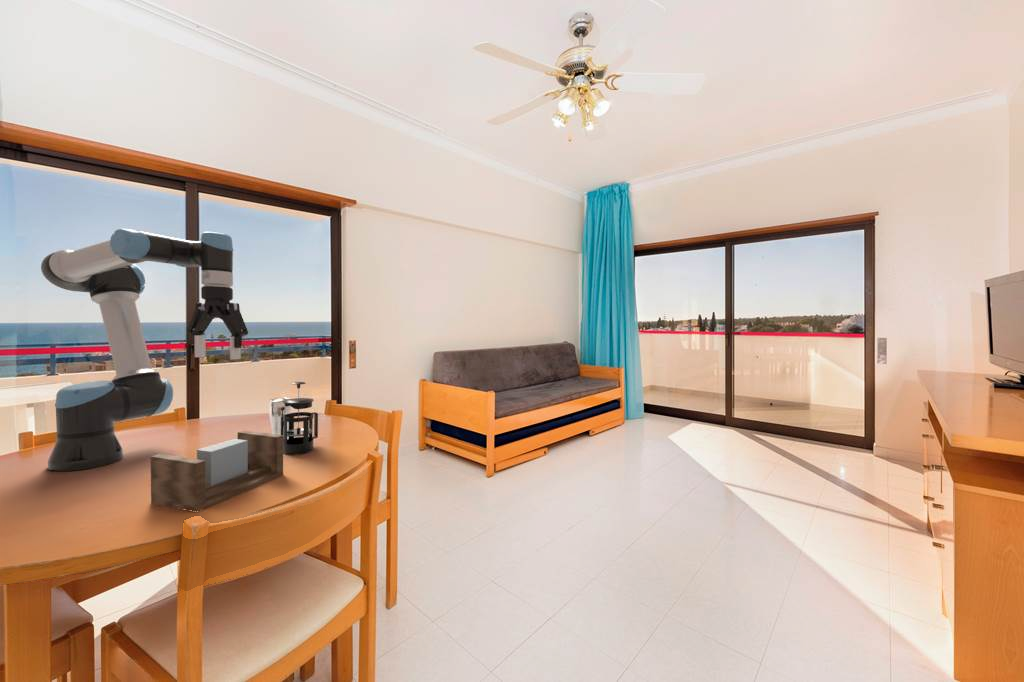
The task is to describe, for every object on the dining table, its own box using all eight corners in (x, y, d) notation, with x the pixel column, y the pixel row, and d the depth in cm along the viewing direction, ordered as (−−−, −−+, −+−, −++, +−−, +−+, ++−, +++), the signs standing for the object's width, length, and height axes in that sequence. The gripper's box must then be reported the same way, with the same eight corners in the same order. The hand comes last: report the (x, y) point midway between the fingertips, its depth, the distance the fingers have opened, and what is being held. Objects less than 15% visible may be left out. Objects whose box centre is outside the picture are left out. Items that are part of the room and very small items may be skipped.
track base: (151, 503, 94) (150, 456, 94) (243, 468, 117) (243, 430, 117) (196, 512, 90) (196, 463, 90) (283, 474, 114) (283, 435, 113)
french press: (290, 457, 127) (290, 385, 126) (274, 451, 132) (274, 382, 131) (324, 448, 137) (324, 381, 136) (308, 443, 142) (308, 378, 141)
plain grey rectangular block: (197, 489, 99) (196, 449, 99) (234, 475, 109) (234, 438, 109) (211, 491, 98) (210, 451, 98) (247, 477, 108) (247, 440, 108)
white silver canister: (264, 442, 142) (264, 400, 141) (279, 437, 148) (279, 397, 148) (282, 444, 140) (282, 401, 140) (296, 438, 147) (296, 398, 147)
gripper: (172, 285, 118) (172, 356, 119) (238, 285, 112) (239, 361, 113) (198, 287, 126) (198, 355, 126) (262, 287, 119) (262, 359, 120)
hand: (217, 358), depth 120 cm, fingers open, 13 cm apart
